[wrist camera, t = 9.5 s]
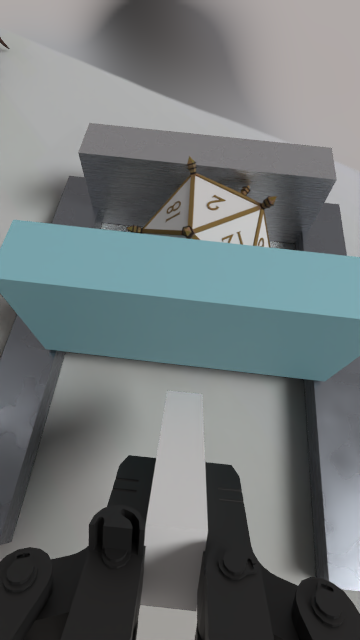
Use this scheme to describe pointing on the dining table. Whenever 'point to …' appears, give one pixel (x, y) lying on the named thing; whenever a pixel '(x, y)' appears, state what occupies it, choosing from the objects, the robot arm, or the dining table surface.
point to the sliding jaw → (183, 300)
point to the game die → (210, 213)
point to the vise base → (283, 226)
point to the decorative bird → (3, 43)
